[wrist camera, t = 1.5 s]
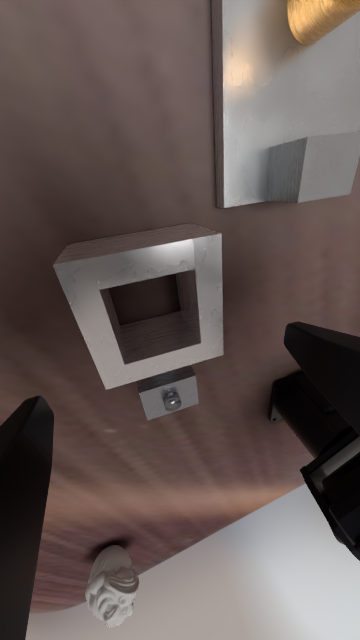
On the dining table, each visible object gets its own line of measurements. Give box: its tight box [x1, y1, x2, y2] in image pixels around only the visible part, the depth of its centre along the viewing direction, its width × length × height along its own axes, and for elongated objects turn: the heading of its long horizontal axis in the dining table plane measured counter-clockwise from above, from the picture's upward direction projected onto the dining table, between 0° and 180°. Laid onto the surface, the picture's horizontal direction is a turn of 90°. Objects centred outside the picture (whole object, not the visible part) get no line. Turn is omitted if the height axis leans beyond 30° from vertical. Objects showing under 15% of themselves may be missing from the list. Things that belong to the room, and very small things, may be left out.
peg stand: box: [211, 0, 360, 208], centre depth 8 cm, size 10×8×6 cm
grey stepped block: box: [137, 365, 199, 420], centre depth 16 cm, size 6×4×3 cm
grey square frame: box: [53, 223, 223, 390], centre depth 12 cm, size 7×7×4 cm
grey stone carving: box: [85, 545, 139, 628], centre depth 28 cm, size 6×7×7 cm
